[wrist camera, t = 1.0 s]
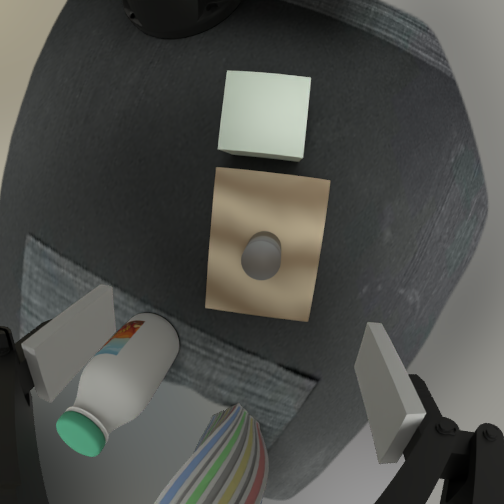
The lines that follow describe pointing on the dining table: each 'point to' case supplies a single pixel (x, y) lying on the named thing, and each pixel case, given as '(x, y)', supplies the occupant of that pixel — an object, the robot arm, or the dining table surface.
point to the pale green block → (264, 115)
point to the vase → (223, 464)
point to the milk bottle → (119, 382)
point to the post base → (270, 214)
